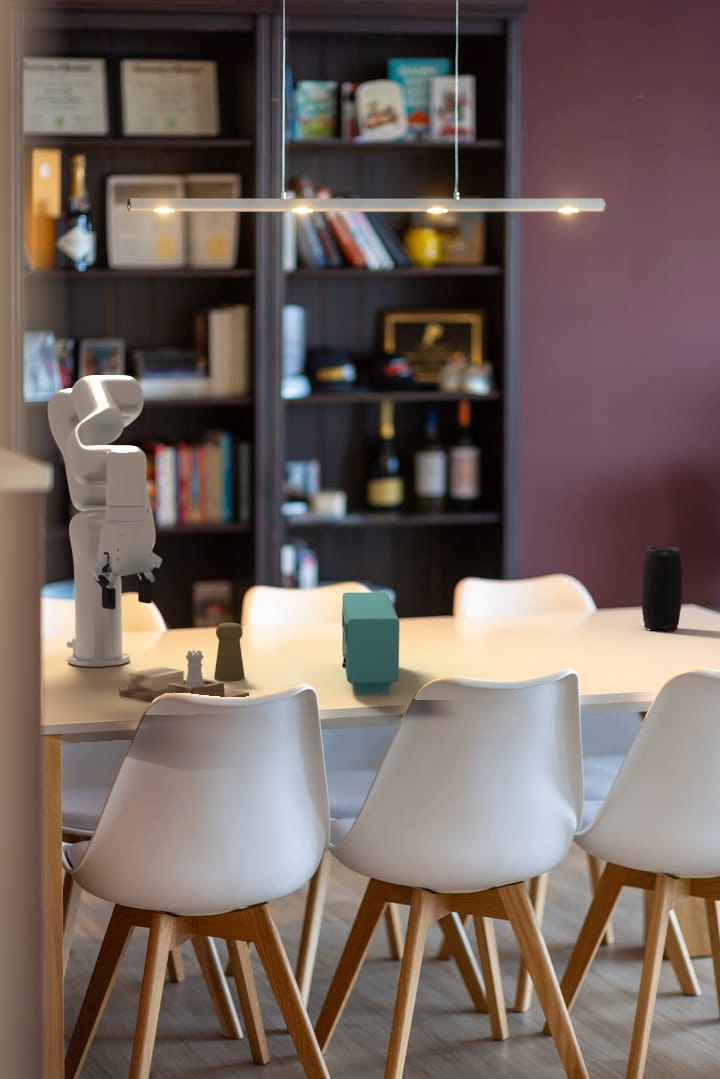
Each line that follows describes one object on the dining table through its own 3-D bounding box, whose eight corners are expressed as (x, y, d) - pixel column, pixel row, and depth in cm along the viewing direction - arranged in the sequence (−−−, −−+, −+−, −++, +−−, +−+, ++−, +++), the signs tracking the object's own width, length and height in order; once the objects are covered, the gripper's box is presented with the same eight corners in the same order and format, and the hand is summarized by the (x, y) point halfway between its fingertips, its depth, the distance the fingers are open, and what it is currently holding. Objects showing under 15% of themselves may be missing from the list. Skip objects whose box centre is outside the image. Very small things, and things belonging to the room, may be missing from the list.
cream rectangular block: (130, 687, 277) (129, 673, 277) (161, 681, 283) (161, 666, 283) (151, 692, 273) (151, 677, 273) (183, 685, 279) (183, 670, 279)
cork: (245, 675, 296) (245, 620, 294) (244, 681, 290) (244, 625, 288) (215, 675, 295) (214, 620, 294) (213, 681, 289) (212, 625, 288)
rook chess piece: (183, 692, 274) (183, 649, 273) (207, 692, 274) (207, 649, 273) (181, 697, 269) (181, 653, 268) (206, 697, 270) (206, 653, 269)
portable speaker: (634, 627, 354) (636, 546, 352) (668, 625, 357) (671, 545, 355) (653, 633, 346) (655, 550, 344) (687, 631, 349) (690, 548, 347)
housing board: (119, 695, 276) (119, 677, 276) (174, 684, 287) (174, 666, 286) (194, 711, 263) (194, 692, 263) (249, 698, 274) (249, 680, 274)
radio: (337, 663, 309) (338, 592, 307) (387, 663, 309) (388, 591, 308) (343, 698, 275) (343, 618, 273) (399, 698, 276) (399, 618, 274)
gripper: (147, 509, 289) (147, 598, 291) (77, 516, 275) (78, 609, 277) (173, 512, 284) (174, 602, 286) (104, 519, 271) (105, 613, 273)
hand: (127, 605), depth 282 cm, fingers open, 8 cm apart
